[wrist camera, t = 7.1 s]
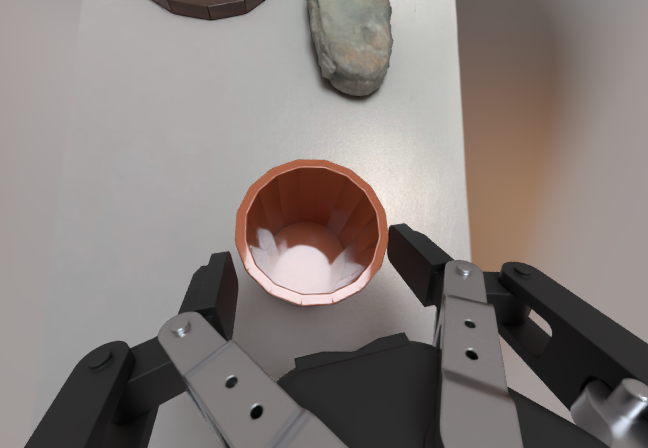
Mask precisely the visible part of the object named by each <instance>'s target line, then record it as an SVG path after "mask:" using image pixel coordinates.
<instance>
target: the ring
mask: <svg viewBox="0 0 648 448" xmlns="http://www.w3.org/2000/svg"><path fill="white" fill-rule="evenodd" d="M153 1H155V2H156V3H158V4H160V5H161V6H163V7H164V8H166V9H167V10H169V11H170V12H172V13H174V14H180V15H186V16H192V17H197V18H203V19H209V20H210V19H212V20H213V19H219V18H224V17H229V16H235V15H240V14H245V13H247V12H249V11H250V10H251V9H253V8H254V7H255V6H257V5H258V4H260V3H261V2H262V1H264V0H153Z"/></svg>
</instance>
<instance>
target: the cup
mask: <svg viewBox="0 0 648 448" xmlns="http://www.w3.org/2000/svg"><path fill="white" fill-rule="evenodd" d="M388 241H389V236H388V228H387V221H386V213H385V210H384V208H383V206H382V205H381V203H380V201H379V199H378V197H377V196H376V194H375V192H374V190H373V188H371V186H370V185H369V184H367V183H366V182H365V181H364V180H363V179H361V178H360V177H359V176H358V175H357V174H356V173H354V172H353V171H352V170H350V169H348V168H345V167H343V166H340V165H337V164H335V163H332V162H329V161H327V160H326V161H325V160H300V159H299V160H295V161H292V162H289V163H286V164H283V165H280V166H277V167H274V168H272V169H270V170H269V171H268V172H267V173H266V174H264V175H263V176H262V177H261V178H260V179H258V180H257V181H256V182H255V183H254V184H252V185H251V187H250V188H249V190H248V191H247V193H246V195H245V197H244V199H243V201H242V203H241V205H240V207H239V209H238V211H237V215H236V231H235V244H236V246H237V249H238V252H239V254H240V257H241V260H242V262H243V265H244V268H245V270H246V271H247V273H248V274H249V275H250V276H251V277H252V278H253V279H254V280H255V281H256V282H257V283H258V284H259V285H260V286H261V287H262V288H263V289H264V290H265V291H266V292H267V293H268V294H270V295H272V296H274V297H276V298H278V299H280V300H283V301H285V302H288V303H291V304H293V305H296V306H316V305H333V304H336V303H338V302H340V301H342V300H344V299H346V298H348V297H350V296H352V295H354V294H356V293H358V292H360V291H361V290H362V289H364V287H365V286H366V285H367V284H368V282H369V281H370V280H371V279H372V278H373V276H374V275H375V274H376V273H377V271H378V270H379V269H380V267H381V266H382V262H383V259H384V255H385V251H386V248H387V244H388Z"/></svg>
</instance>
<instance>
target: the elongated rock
mask: <svg viewBox="0 0 648 448" xmlns="http://www.w3.org/2000/svg"><path fill="white" fill-rule="evenodd" d="M307 1H308V5H309V13H310V16H311V18H310V28H311V32H312V40H313V42H315V47H316V52H317V55H318V60H319V62H318V64H319V66H321V69H322V77H324V78H328V79H329V80H330V82H331V84H332V85H333V87H335V88H336V89H338V90H340V91H342V92H343V93H347V94H350V95H356V96H363V95H369V94H370V93H371V92H374V91H375V90H377V89H378V88H379V87H380V85H381V84H382V82H383V79H384V77H385V75H386V73H387V69H388V68H389V59H390V55H391V52H392V50H391V48H392V44H393V39H392V35H391V25H390V17H391V14H392V8H391V7H390V2H389V0H307Z"/></svg>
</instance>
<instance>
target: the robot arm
mask: <svg viewBox="0 0 648 448" xmlns="http://www.w3.org/2000/svg"><path fill="white" fill-rule="evenodd" d="M388 236H389V241H388V245H387V255H388V259H389V261H390V263H391V264H392V265H393V267H394V268H395V269H396V271H397V272H398V273H399V274H400V276H401V277H402V278H403V280H404V281H405V282H406V284H407V285H408V286H409V287H410V289H411V290H412V291H413V293H414V294H415V295H416V297H417V298H418V299H419V301H420V302H421V303H422V304H423V306H424V307H427V306H432V305H435V306H436V307H437V309H436V314H435V324H434V335H433V345H429V344H426V343H421V342H415V341H409V339H408V338H407V336H406V334H405V333H399V334H395V335H391V336H387V337H383V338H379V339H377V340H375V341H373V342H371V343H369V344H367V345H366V346H364V347H362V348H360V349H358V350H356V351H353V352H319V353H315V354H311V355H307V356H303V357H298V358H295V365H296V368H295V369H293V370H291V371H290V372H288V373H287V374H285V375H284V376H283V377H282V378H280V379H279V380H278V381H277V382H275V381H274V380H273V379H272V378H271V377H270V376H269V375H268V374H267V373H266V372H265V371H264V370H263V369H262V368H261V367H260V366H259V365H258V364H257V363H256V362H255V361H254V360H253V359H252V358H251V357H250V356H249V355H248V354H247V353H246V352H245V351H244V350H243V349H242V348H241V347H240V346H239V345H238V344H237V343H236V342H235V341H233V340H232V336H233V328H234V320H235V312H236V304H237V297H238V279H237V275H236V271H235V268H234V264H233V261H232V257H231V254H230V252H229V251H227V252H220V253H214V254H212V255H211V258H210V261H209V264H208V265H206V266H201V267H200V268H199V269H198V270H197V271H196V272H195V273H194V274H193V277H192V280H191V282H190V283H191V284H190V285H189V287H188V291H187V292H186V295H185V297H184V300H183V303H182V305H181V308H180V310H179V313H178V315H176V316H175V317H173V318H171V319H170V320H168V321H167V322H166V323H165V324H164V325H163V326H162V328H161V329H160V331H159V333H158V336H157V337H155V338H153V339H151V340H148V341H146V342H144V343H141V344H139V345H137V346H134V347H132V348H130V347H129V346H128V344H127V343H126V342H123V341H114V342H110V343H106V344H104V345H102V346H100V347H98V348H96V349H94V350H93V351H91V352H90V353H88V354H87V355H86V356H85V357H84V358H83V359H81V360H80V362H79V363H78V364H77V365H76V366H75V368H74V369H73V371H72V373H71V374H70V376H69V377H68V379H67V381H66V382H65V384H64V385H63V387H62V388H61V390H60V392H59V393H58V395H57V396H56V398H55V400H54V401H53V403H52V404H51V406H50V407H49V409H48V411H47V412H46V414H45V415H44V417H43V418H42V420H41V422H40V423H39V425H38V426H37V428H36V430H35V431H34V433H33V434H32V436H31V437H30V439H29V441H28V442H27V444H26V445H25V447H24V448H147V447H148V444H149V440H150V437H151V433H152V429H153V426H154V422H155V419H156V415H157V412H158V408H159V405H161V404H162V403H164V402H166V401H168V400H170V399H172V398H174V397H175V396H177V395H179V394H181V393H183V392H185V391H187V393H188V394H189V396H190V398H191V399H192V401H193V402H194V404H195V405H196V407H197V408H198V410H199V411H200V413H201V414H202V416H203V417H204V419H205V421H206V422H207V424H208V425H209V427H210V428H211V430H212V432H213V433H214V435H215V437H216V438H217V440H218V442H219V443H220V445H221V447H222V448H648V344H647V343H646V342H644V341H643V340H641V339H640V338H638V337H637V336H635V335H634V334H632V333H631V332H630V331H628V330H627V329H625V328H623V327H622V326H621V325H619V324H618V323H616V322H615V321H613V320H612V319H610V318H609V317H607V316H606V315H604V314H603V313H601V312H600V311H599V310H597V309H595V308H594V307H592V306H591V305H590V304H588V303H587V302H585V301H583V300H582V299H581V298H579V297H578V296H576V295H575V294H573V293H572V292H570V291H569V290H567V289H566V288H565V287H563V286H561V285H560V284H558V283H557V282H556V281H554V280H553V279H551V278H550V277H548V276H547V275H545V274H544V273H542V272H541V271H539V270H537V269H536V268H534V267H532V266H530V265H527V264H524V263H519V262H507V263H504V264H503V265H502V268H501V271H500V272H482V270H481V269H480V268H479V267H478V266H476V265H474V264H472V263H470V262H467V261H462V260H454V259H453V258H451V257H450V256H449V255H448V254H447V253H446V252H444V251H443V250H442V249H441V248H440V247H439V246H437V245H436V244H435V243H434V242H432V241H431V240H430V239H429V238H428V237H427V236H426V235H424V234H422V233H420V232H417V231H413V230H412V229H411V228H410V227H409V226H408V225H407V224H405V223H403V224H396V225H391V226H390V227H389V230H388ZM531 309H533V310H534V311H535V312H536V313H537V314H538V315H540V316H541V317H542V318H543V319H544V320H545V321H547V323H548V324H549V325H550V327H551V329H552V337H550V336H549V335H548V334H547V333H546V332H545V331H544V330H542V329H541V328H540V327H539V326H538V325H537V324H536V323H535V322H534V321H532V320H531V319H530V318H529V317H528V316H529V314H530V311H531ZM498 333H499V334H500V335H501V337H502V338H503V339H504V340H505V341H506V342H507V343H508V344H509V345H510V346H511V347H512V349H513V350H514V351H515V352H516V353H517V354H518V355H519V356H520V357H521V358H522V359H523V361H524V362H525V363H526V364H527V365H528V366H529V367H530V368H531V369H532V370H533V371H534V373H535V374H536V375H537V376H538V377H539V378H540V379H541V380H542V381H543V382H544V383H545V385H546V386H547V387H548V388H549V389H550V390H551V391H552V392H553V393H554V394H555V396H556V397H557V398H558V399H559V400H560V401H561V402H562V403H563V404H564V405H565V406H566V407H567V409H568V410H569V411H570V412H571V416H572V419H573V421H574V423H575V424H576V425H575V424H573V423H571V422H570V421H568V420H566V419H564V418H562V417H560V416H559V415H557V414H555V413H553V412H552V411H550V410H548V409H546V408H545V407H543V406H541V405H539V404H537V403H536V402H534V401H532V400H530V399H529V398H527V397H525V396H523V395H521V394H519V393H518V392H516V391H514V390H513V389H511V388H509V387H507V382H506V376H505V370H504V364H503V358H502V352H501V346H500V340H499V334H498Z"/></svg>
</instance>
